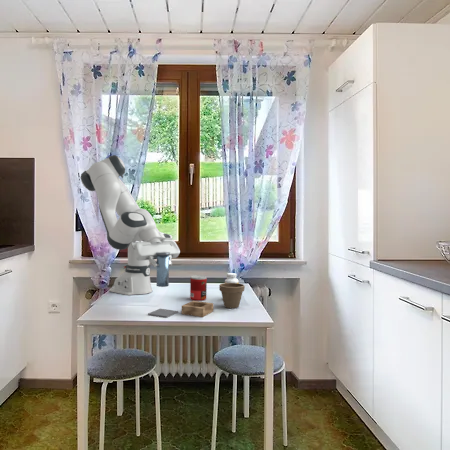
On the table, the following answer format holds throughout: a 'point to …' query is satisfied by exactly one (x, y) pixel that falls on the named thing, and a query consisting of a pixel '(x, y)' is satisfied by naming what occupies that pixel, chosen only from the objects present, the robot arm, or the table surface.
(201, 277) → the canned food
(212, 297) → the table surface
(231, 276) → the supplement bottle
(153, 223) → the robot arm
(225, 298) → the flower pot
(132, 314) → the table surface
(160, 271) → the plunger
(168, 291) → the table surface
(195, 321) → the table surface
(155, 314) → the mat
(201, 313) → the bore block
